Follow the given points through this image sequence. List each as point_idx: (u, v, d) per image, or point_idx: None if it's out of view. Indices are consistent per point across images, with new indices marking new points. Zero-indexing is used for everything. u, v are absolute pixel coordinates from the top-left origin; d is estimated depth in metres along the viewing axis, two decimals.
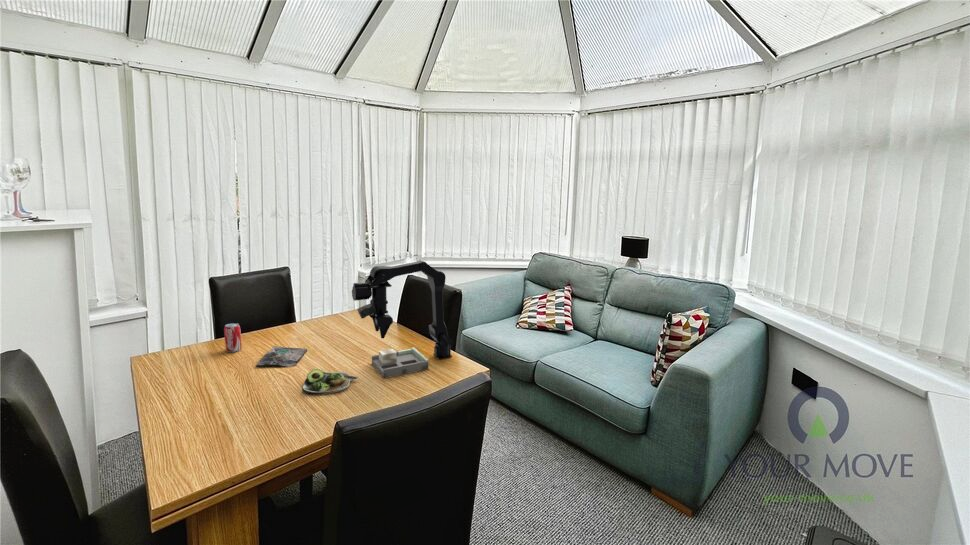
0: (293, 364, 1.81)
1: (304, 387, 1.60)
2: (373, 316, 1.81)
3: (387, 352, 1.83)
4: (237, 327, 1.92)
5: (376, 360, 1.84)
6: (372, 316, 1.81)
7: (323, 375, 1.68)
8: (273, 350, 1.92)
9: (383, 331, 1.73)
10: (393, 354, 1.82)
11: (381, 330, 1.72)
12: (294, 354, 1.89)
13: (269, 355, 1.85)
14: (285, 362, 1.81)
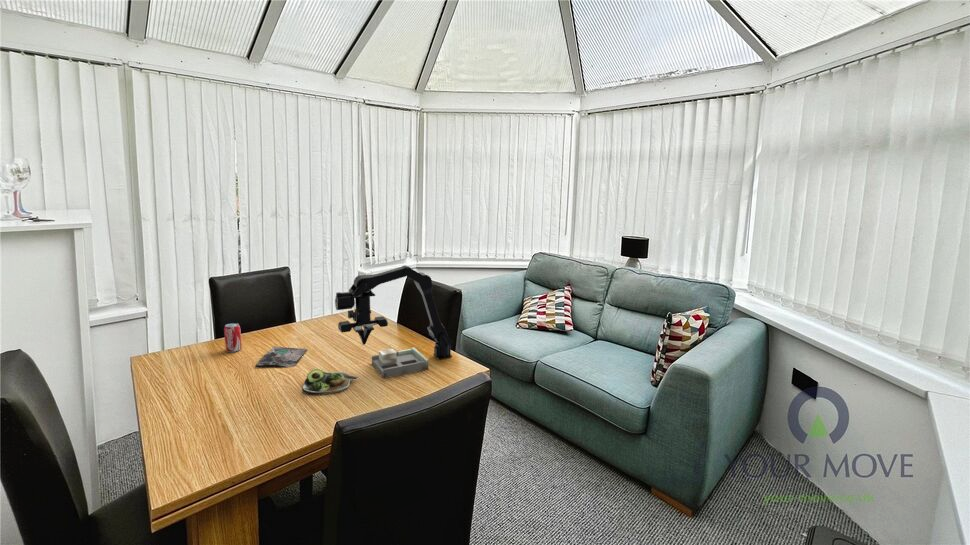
0: (293, 364, 1.81)
1: (304, 387, 1.60)
2: (364, 327, 1.77)
3: (387, 352, 1.83)
4: (237, 327, 1.92)
5: (376, 360, 1.84)
6: (363, 327, 1.78)
7: (323, 375, 1.68)
8: (273, 350, 1.92)
9: (360, 337, 1.76)
10: (393, 354, 1.82)
11: (359, 335, 1.76)
12: (294, 354, 1.89)
13: (269, 355, 1.85)
14: (285, 362, 1.81)
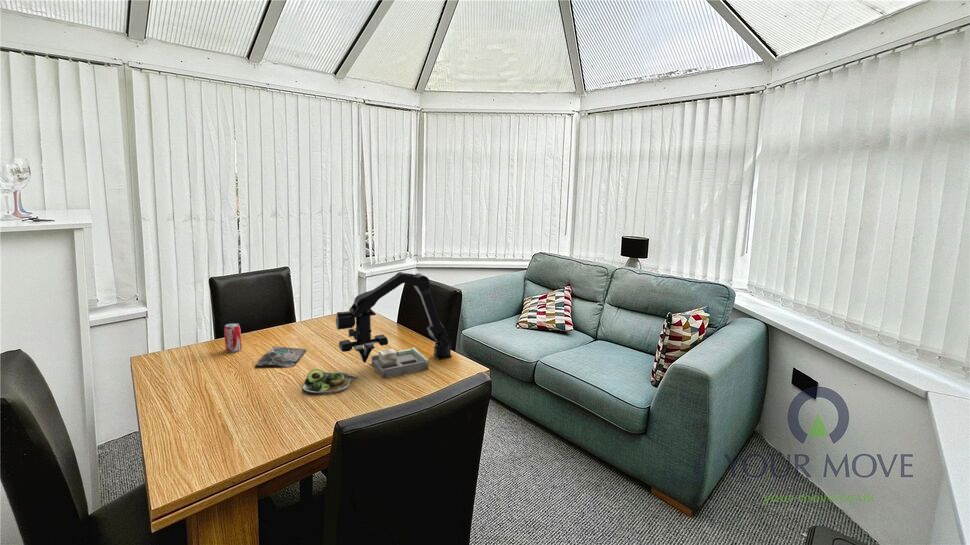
0: (292, 365, 1.81)
1: (304, 387, 1.60)
2: (364, 346, 1.79)
3: (387, 352, 1.83)
4: (237, 327, 1.92)
5: (376, 360, 1.84)
6: (364, 345, 1.79)
7: (323, 375, 1.68)
8: (272, 350, 1.92)
9: (361, 355, 1.77)
10: (393, 354, 1.82)
11: None
12: (293, 354, 1.88)
13: (268, 355, 1.85)
14: (284, 362, 1.81)
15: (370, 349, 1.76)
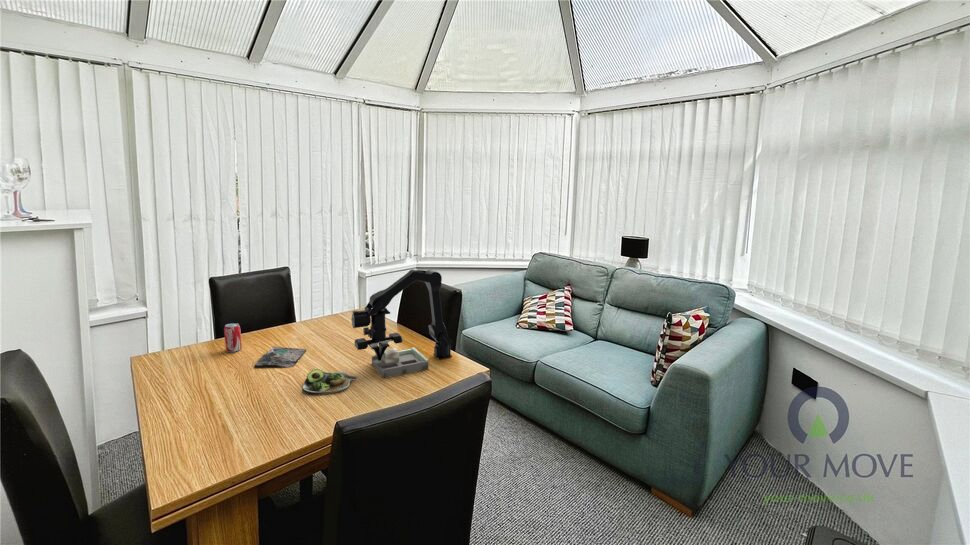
0: (292, 365, 1.81)
1: (304, 387, 1.60)
2: (379, 344, 1.82)
3: (390, 351, 1.83)
4: (237, 327, 1.92)
5: (376, 360, 1.84)
6: (379, 344, 1.83)
7: (323, 375, 1.68)
8: (272, 350, 1.92)
9: (376, 353, 1.81)
10: (396, 353, 1.83)
11: (375, 351, 1.81)
12: (293, 354, 1.88)
13: (268, 355, 1.85)
14: (283, 362, 1.81)
15: (385, 347, 1.79)
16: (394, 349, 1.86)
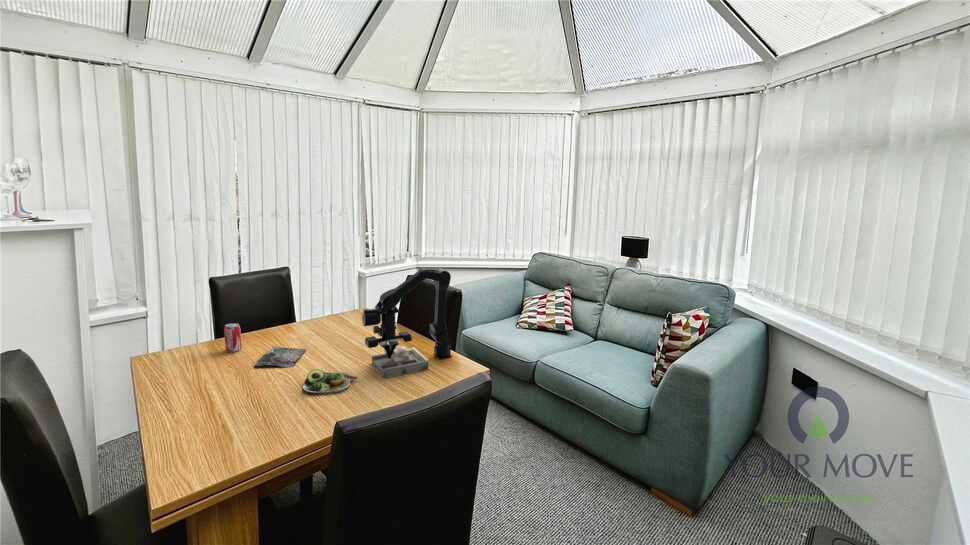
0: (291, 365, 1.80)
1: (304, 387, 1.60)
2: (389, 342, 1.84)
3: (399, 350, 1.85)
4: (237, 327, 1.92)
5: (376, 360, 1.84)
6: (389, 342, 1.85)
7: (323, 375, 1.68)
8: (272, 350, 1.92)
9: (386, 352, 1.83)
10: (405, 352, 1.85)
11: (384, 349, 1.83)
12: (292, 354, 1.88)
13: (267, 355, 1.85)
14: (283, 363, 1.81)
15: (395, 345, 1.82)
16: (403, 347, 1.88)
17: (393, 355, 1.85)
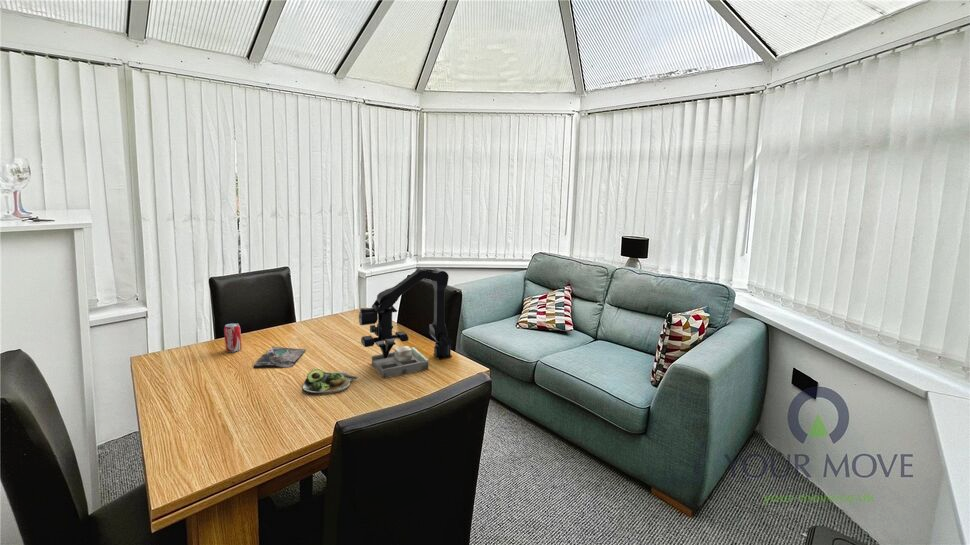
0: (291, 365, 1.80)
1: (304, 387, 1.60)
2: (385, 342, 1.84)
3: (403, 349, 1.86)
4: (237, 327, 1.92)
5: (376, 360, 1.84)
6: (385, 341, 1.84)
7: (323, 375, 1.68)
8: (271, 350, 1.92)
9: (382, 351, 1.82)
10: (408, 351, 1.86)
11: (381, 349, 1.83)
12: (292, 355, 1.88)
13: (267, 355, 1.84)
14: (282, 363, 1.80)
15: (391, 345, 1.81)
16: (406, 347, 1.89)
17: (396, 354, 1.86)
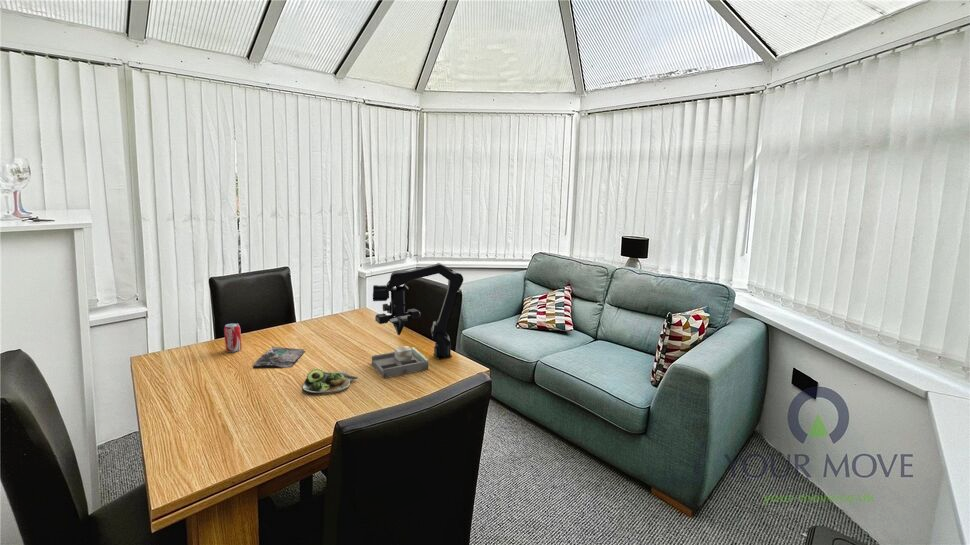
0: (290, 365, 1.80)
1: (304, 387, 1.60)
2: (398, 319, 1.91)
3: (403, 349, 1.86)
4: (237, 327, 1.92)
5: (376, 360, 1.84)
6: (398, 319, 1.91)
7: (323, 375, 1.68)
8: (271, 350, 1.92)
9: (396, 328, 1.89)
10: (408, 351, 1.86)
11: (394, 326, 1.90)
12: (292, 355, 1.88)
13: (266, 356, 1.84)
14: (282, 363, 1.80)
15: (404, 322, 1.88)
16: (406, 347, 1.89)
17: (396, 354, 1.86)
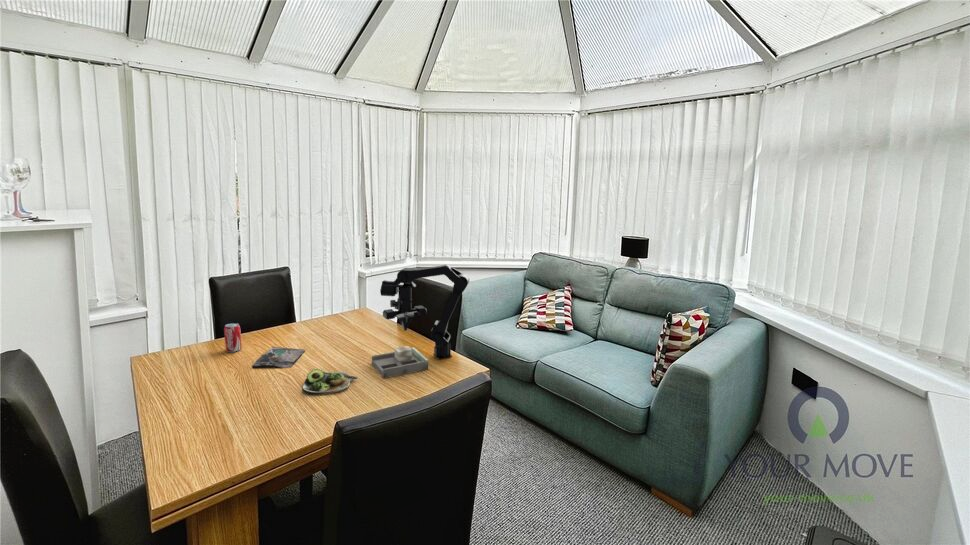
0: (289, 365, 1.80)
1: (304, 387, 1.60)
2: (405, 315, 1.95)
3: (403, 349, 1.86)
4: (237, 327, 1.92)
5: (376, 360, 1.84)
6: (405, 315, 1.96)
7: (323, 375, 1.68)
8: (271, 350, 1.91)
9: (402, 324, 1.94)
10: (408, 351, 1.86)
11: (401, 322, 1.94)
12: (291, 355, 1.88)
13: (266, 356, 1.84)
14: (281, 363, 1.80)
15: (411, 318, 1.92)
16: (406, 347, 1.89)
17: (396, 354, 1.86)
